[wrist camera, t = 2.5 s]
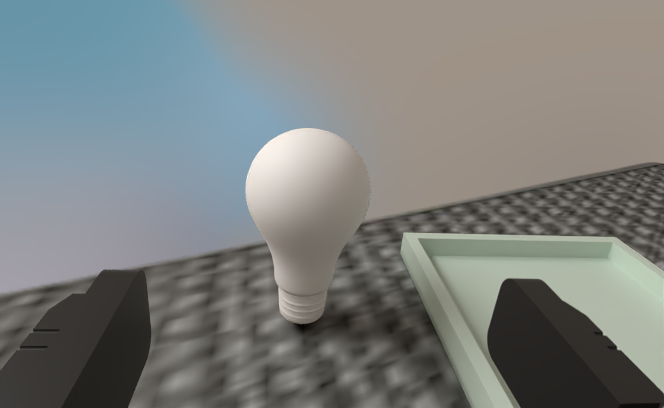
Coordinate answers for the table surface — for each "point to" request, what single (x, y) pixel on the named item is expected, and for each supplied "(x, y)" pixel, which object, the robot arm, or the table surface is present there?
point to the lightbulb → (307, 212)
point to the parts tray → (558, 273)
